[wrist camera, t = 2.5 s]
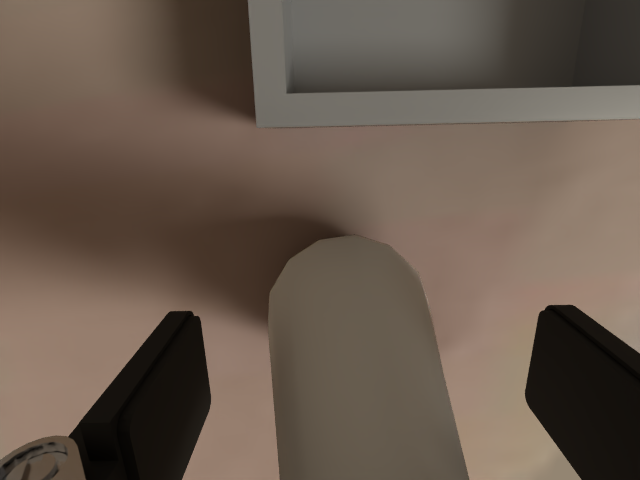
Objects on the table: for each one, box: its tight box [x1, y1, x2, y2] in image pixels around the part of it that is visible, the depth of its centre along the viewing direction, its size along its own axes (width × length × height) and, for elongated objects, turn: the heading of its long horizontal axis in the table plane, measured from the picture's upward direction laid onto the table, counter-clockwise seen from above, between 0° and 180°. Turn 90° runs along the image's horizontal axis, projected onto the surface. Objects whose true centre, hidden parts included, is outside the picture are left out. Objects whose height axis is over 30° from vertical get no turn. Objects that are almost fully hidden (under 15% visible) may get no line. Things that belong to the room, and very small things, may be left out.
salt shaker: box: [268, 235, 469, 480], centre depth 9 cm, size 6×6×13 cm
